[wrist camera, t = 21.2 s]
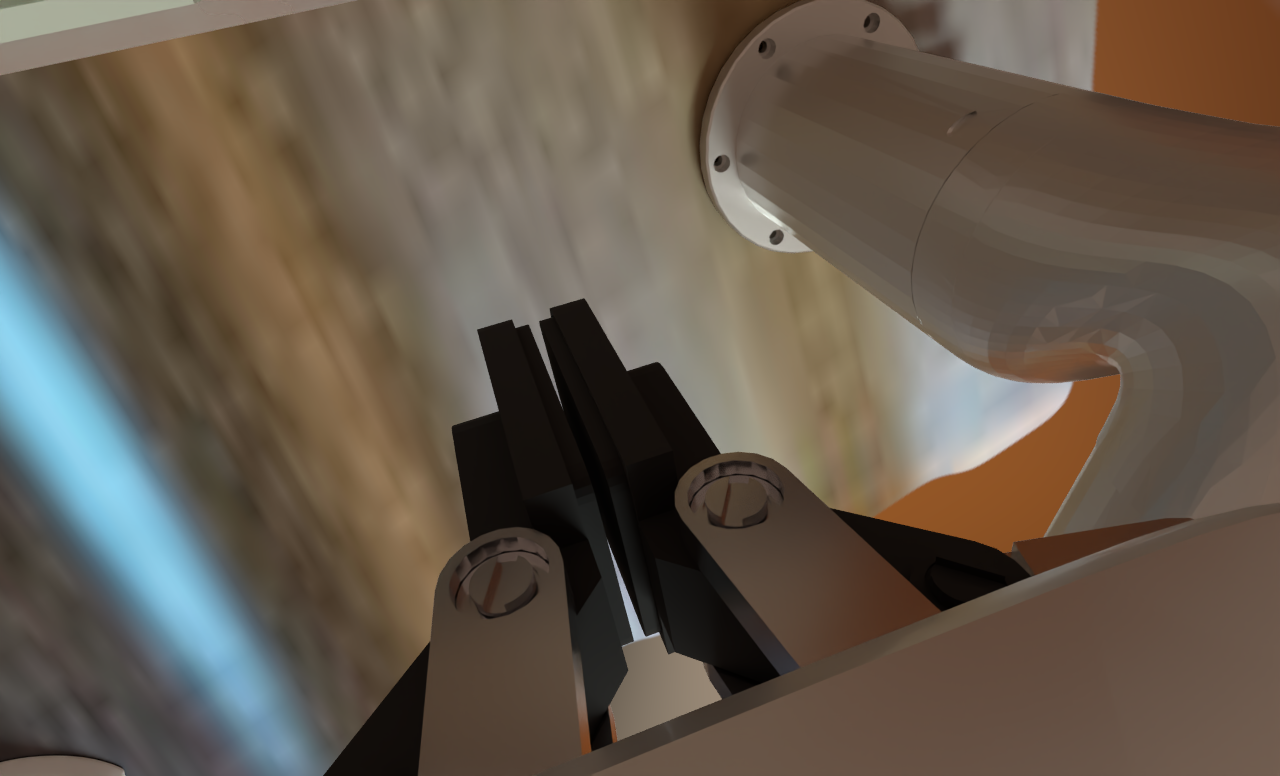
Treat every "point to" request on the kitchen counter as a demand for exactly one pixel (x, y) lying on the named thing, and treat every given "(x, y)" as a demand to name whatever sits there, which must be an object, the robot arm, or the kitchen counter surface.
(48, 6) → the pale green open box
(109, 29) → the white flat board
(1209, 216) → the robot arm
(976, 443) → the kitchen counter surface
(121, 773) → the jar
